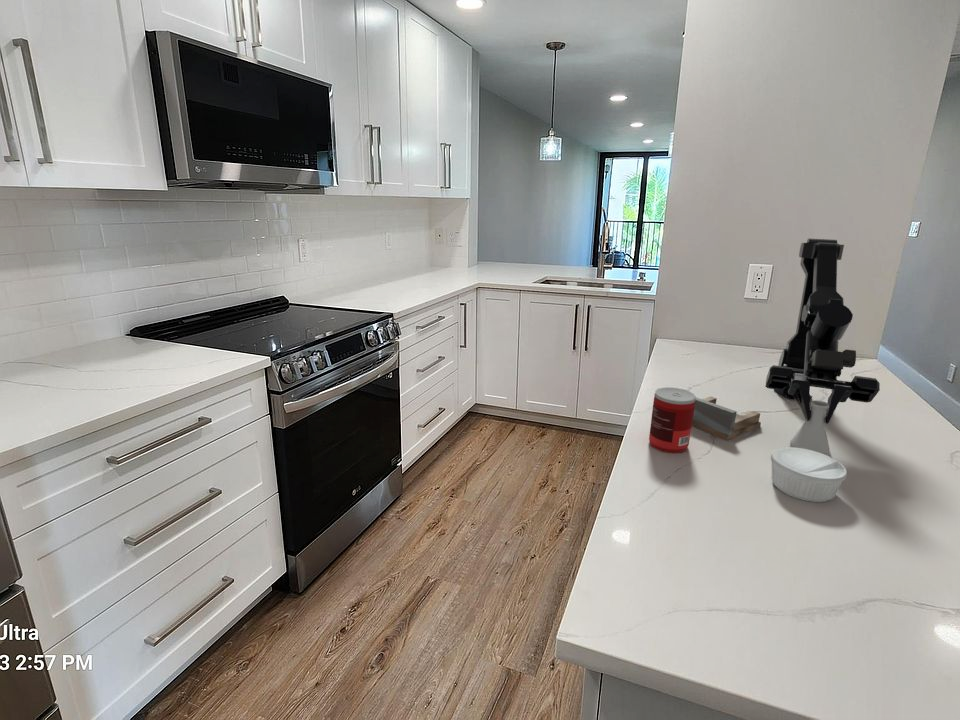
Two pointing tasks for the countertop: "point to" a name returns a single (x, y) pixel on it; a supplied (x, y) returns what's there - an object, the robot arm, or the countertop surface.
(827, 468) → the ramekin
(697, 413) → the stand
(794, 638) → the countertop surface
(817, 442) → the flask
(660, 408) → the canned food
